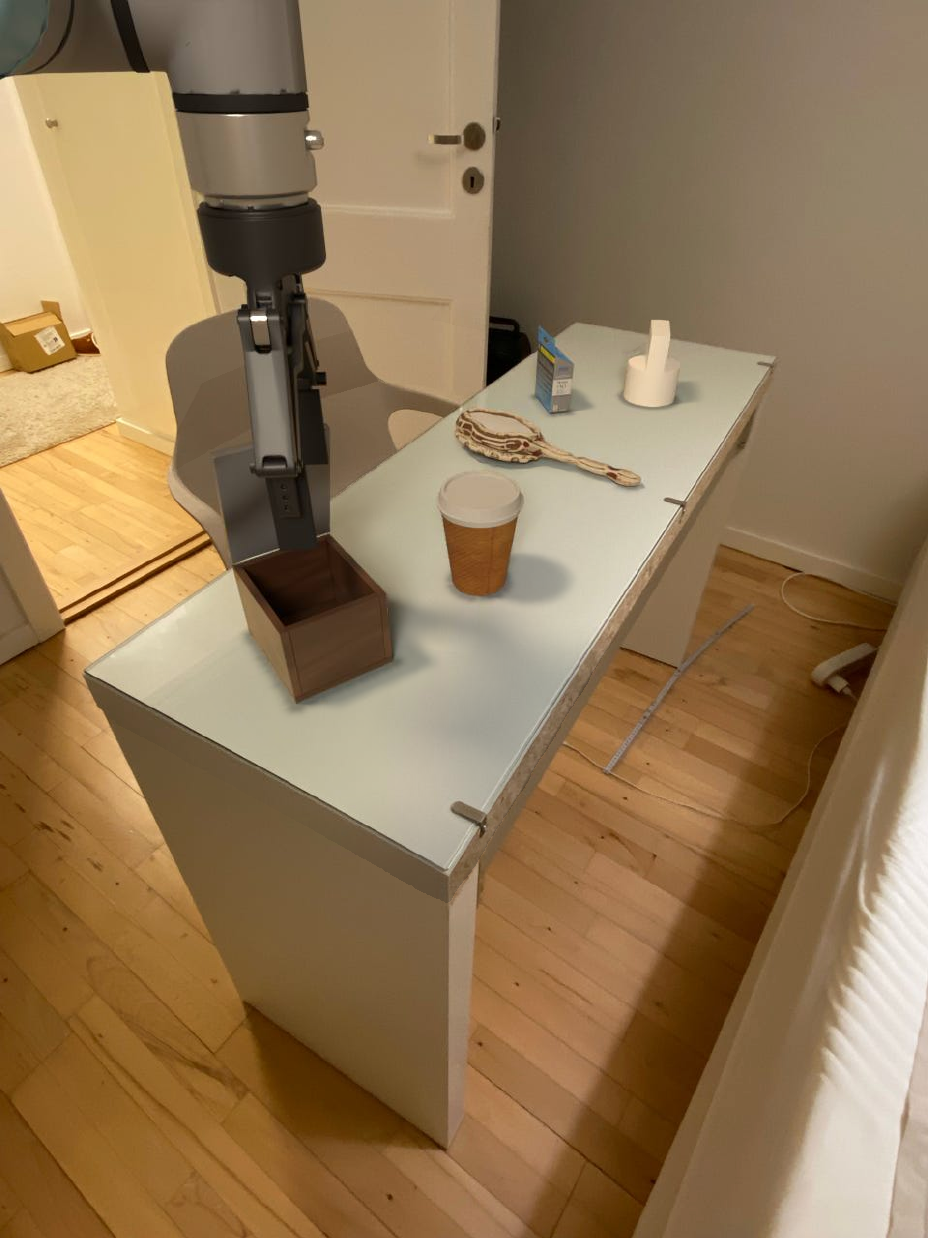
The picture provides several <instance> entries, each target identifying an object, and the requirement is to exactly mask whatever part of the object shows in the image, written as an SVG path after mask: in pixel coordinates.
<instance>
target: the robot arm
mask: <svg viewBox="0 0 928 1238" xmlns="http://www.w3.org/2000/svg"><path fill="white" fill-rule="evenodd" d="M133 72H135V73H136V74H150V73H151V72H155V73H157V72H159V73H165V74H166V76H167V79H168V82H169V85H170V88H171V91H172V94H171V96H172V100H173V101H172V102H173V107H174V109H175V110H174V112H175V116H176V122H177V127H178V132H179V137H180V143H181V147H182V152H183V156H184V161H185V162H184V163H185V167H186V172H187V177H188V181H189V186H190V189H191V190H192V191H193V192H194V193H195V194H196V195H198V196H201V197H202V199H203V201H201V202H200V203H199V204H198V208H197V209H196V216H197V219H198V220H197V221H198V226H199V230H200V235H201V240H202V244H203V249H204V253H205V258H206V263H207V264H208V266H209V268H210V269H211V270H212V271H214V272H215V273H216V274H219V275H222V276H225V277H228V278H232V277H236V278H238V279H240V280H241V281H243V282H244V283H245V287H246V303H241V305H240V308H238V309H237V313H236V323H237V325H238V329H239V335H240V341H241V345H242V353H243V362H244V370H245V381H246V391H247V399H248V400H247V401H248V410H249V417H250V418H249V419H250V429H251V439H252V442H253V449H254V459H255V463H249V467H250V471H251V474H256V476H257V477H258V478H265V480H266V485H267V490H268V495H269V500H270V505H271V510H272V515H273V520H274V525H275V530H276V535H277V540H278V545H279V549H278V550H280V551H292V550H314V549H317V545H318V543H317V537H318V536H316V530H315V523H314V517H313V510H312V504H311V497H310V491H309V485H308V478H307V472H306V465H322V464H328V461H329V460H328V452H327V444H326V437H325V429H324V423H325V422H324V416H323V407H322V406H323V405H322V399H321V392H320V388H314V387H327V386H328V379H327V372H326V371H319V367H320V360H319V359H318V355H317V350H316V346H315V341H314V340H315V339H314V334H313V329H312V324H311V319H310V315H309V300H308V297H307V293H306V292H305V289H304V283H303V276H304V275H306V274H310V273H313V272H316V271H317V270H319V269H320V268H322V267H323V266H324V264H325V263H326V260H327V250H326V241H325V234H324V233H325V231H324V223H323V215H322V206H321V205H320V204H318V201H317V200H316V199H315V198H313V197H311V196H309V193H312V192H313V191H314V190H315V189H316V187H317V186H318V176H317V168H316V159H315V155H314V154H313V152H312V151H319V150H322V149H323V148H324V146H325V140H324V139H325V138H324V136H323V135H322V132H321V131H320V130H317V129H311V130H310V129H308V125H309V123H310V121H311V116H310V110H309V108H310V102H309V94H308V92H309V91H308V83H307V72H306V62H305V53H304V42H303V33H302V21H301V11H300V1H299V0H0V81H1V80H4V79H5V78H11V77H16V76H17V77H18V76H31V75H32V76H33V75H42V74H86V73H87V74H90V73H94V74H95V73H133Z"/></svg>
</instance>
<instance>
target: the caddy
mask: <svg viewBox="0 0 928 1238" xmlns="http://www.w3.org/2000/svg"><path fill="white" fill-rule="evenodd" d="M317 543H318V545H317V549H314V550H292V551H280V550H279V549H276V550H273V551H270V552H267V553H264V554H261V555H258V556H255V557H252V558H249V559H246V560H243V561H240V562H237V563H234V564H232V565H231V570H232V572H233V576H234V579H235V583H236V587H237V591H238V595H239V599H240V603H241V606H242V610H243V613H244V618H245V621H246V624H247V627H248V631H249V634H250V635H251V637H252V638H253V640H254V642H255V643H256V644H257V645H256V646H258V648H259V649H260V651H261V652H262V653H263V656H264V657H265V659H266V660H267V661H268V663H269V664H270V666H271V668H272V669H273V671H274V672H275V674H276V675H277V677H278V679H279V680H280V681H281V683H282V684H283V686H284V687H285V689H286V691H287V692H288V694H289V696H290V697H291V698H292V700H293V701H294V703H295V704H299V703H301V702H303V701H306V700H308V699H310V698H312V697H314V696H317V695H319V694H321V693H324V692H325V691H329V690H330V689H332V688H335V687H337V686H340V685H342V684H344V683H346V682H349V681H352V680H353V679H356V678H359V677H360V676H363V675H365V674H367V673H369V672H372V671H374V670H377V669H379V668H380V667H384V666H385V665H388V664H390V663H393V661H394V660H393V648H392V639H391V628H390V627H391V626H390V617H389V616H390V615H389V608H388V597H387V592H386V591H385V590H384V589H383V588H382V587H381V586H380V585H379V584H378V583H377V582H376V580H375V579H374V578H373V577H372V576H371V575H370V574H368V572H367V571H366V570H365V569H364V568H363V567H362V566H361V565H360V564H359V563H358V562H357V561H356V560H355V559H354V557H353V556H351V554H350V553H349V552H348V551H347V550H346V549H345V548H344V547H343V546H342V545H341V543H339V542H338V541H337V540H336V538H334V537H333V535H332V534H330V532H328V533H325V534H322V535H318V536H317Z"/></svg>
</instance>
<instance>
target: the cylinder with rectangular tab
mask: <svg viewBox="0 0 928 1238" xmlns="http://www.w3.org/2000/svg"><path fill="white" fill-rule="evenodd" d="M648 332H649V333H648V338H647V344H646V351H645V354H639V355H635V356H632V357H631V358H629V359H628V361H627V366H626V372H625V373H626V375H625V381H624V387H623V394H622V396H623V399H625V400H626V401H627V402H628V403H630V404H633V405H636V406H640V407H647V408H660V407H665V406H669V405H671V404H672V403H673V402H674V401H675V395H676V391H677V386H678V381H679V376H680V372H681V368H682V367H681V366H682V365H681V363H680V362H679V361H678V360H676V359H675V358H672V357H668V351H669V346H670V341H671V327H670V321H669V320H665V319H664V320H663V319H651V321H650V326H649V331H648Z"/></svg>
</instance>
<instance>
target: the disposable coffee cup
mask: <svg viewBox="0 0 928 1238" xmlns="http://www.w3.org/2000/svg"><path fill="white" fill-rule="evenodd" d="M435 505H436V507H437V509H438V511H439V513H440V514H441V515H440V516H441V521H442V526H443V532H444V539H445V545H446V550H447V558H448V562H449V568H450V574H451V581H452V584H453V586H454V587H455V588H456V589H457V590H459V591H460V592H462V593H464V594H467V595H471V596H487V595H491V594H495V593H496V592H498V591H500V590H501V589H502V588H503V587H504V586H505V583H506V579H507V574H508V569H509V564H510V559H511V554H512V550H513V543H514V540H515V539H514V538H515V535H516V528H517V524H518V518H519V515H520V513H521V511H522V510H523V507H524V505H525V497H524V495H523V493H522V492H521V487H520V486H519V484H518V482H517V481H516V480H515V479H514V478H513V477H510V476H508V475H506V474H503V473H500V472H497V471H491V470H481V469H480V470H479V469H477V470H468V471H463V472H458V473H455V474H454V475H451V476H449V477H447V478H446V479H445V480H444V481H443V482H442V483H441V485H440V487H439V491H438V493H437V495H436V497H435Z"/></svg>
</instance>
